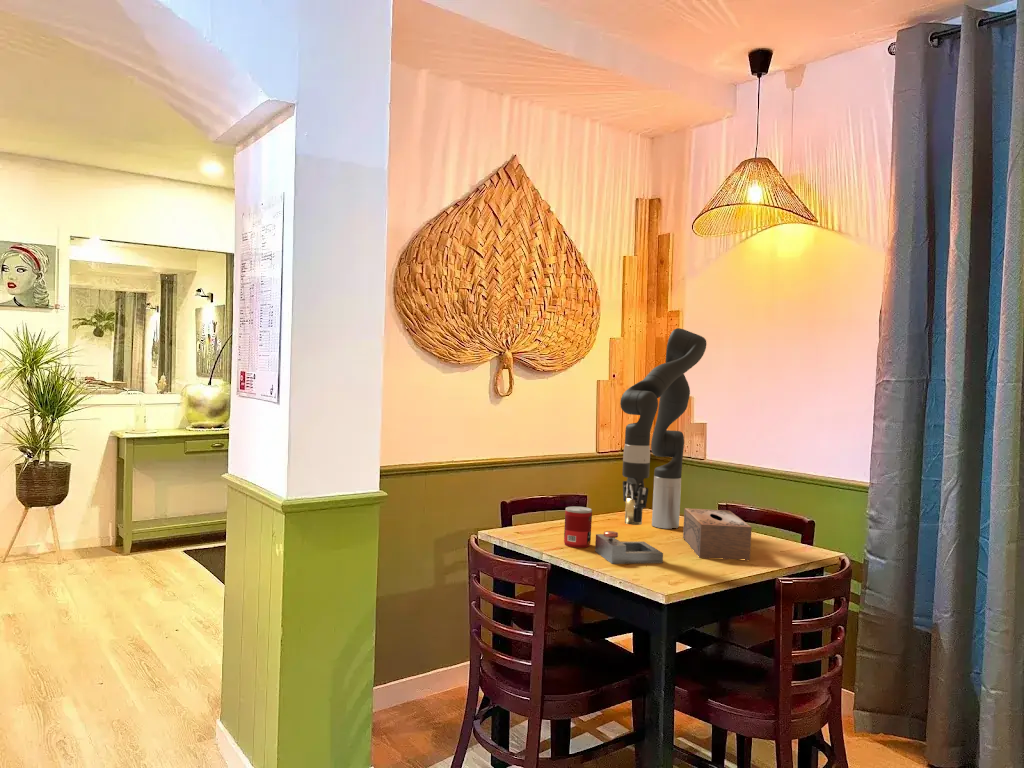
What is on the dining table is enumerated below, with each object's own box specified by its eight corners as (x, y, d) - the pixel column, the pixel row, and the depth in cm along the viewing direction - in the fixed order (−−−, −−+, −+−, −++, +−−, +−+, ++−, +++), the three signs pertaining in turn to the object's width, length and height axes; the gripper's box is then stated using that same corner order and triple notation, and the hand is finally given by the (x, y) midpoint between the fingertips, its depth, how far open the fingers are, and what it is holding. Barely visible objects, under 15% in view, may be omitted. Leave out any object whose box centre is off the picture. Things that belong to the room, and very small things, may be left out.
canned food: (593, 548, 227) (595, 511, 227) (567, 548, 226) (568, 510, 226) (586, 542, 235) (588, 506, 235) (561, 542, 233) (562, 506, 233)
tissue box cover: (749, 561, 220) (751, 527, 220) (699, 558, 221) (701, 524, 221) (728, 541, 246) (729, 510, 246) (682, 539, 247) (684, 508, 247)
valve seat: (595, 551, 223) (596, 527, 223) (643, 550, 226) (644, 527, 226) (611, 563, 209) (612, 538, 209) (662, 563, 213) (663, 538, 213)
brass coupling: (622, 521, 220) (623, 497, 220) (638, 521, 221) (639, 497, 221) (628, 524, 215) (629, 500, 215) (644, 524, 216) (645, 500, 216)
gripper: (658, 463, 211) (656, 525, 212) (639, 457, 225) (636, 515, 226) (633, 463, 210) (630, 525, 210) (615, 457, 224) (612, 515, 224)
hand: (633, 519), depth 218 cm, fingers closed on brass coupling, 4 cm apart
